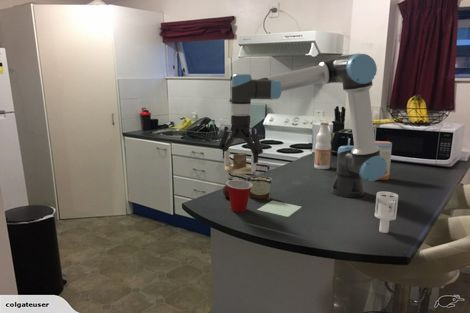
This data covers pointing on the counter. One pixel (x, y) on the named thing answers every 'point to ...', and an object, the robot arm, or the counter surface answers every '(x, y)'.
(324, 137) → the fruit juice
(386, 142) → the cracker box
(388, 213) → the white stepped cylinder
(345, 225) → the counter surface
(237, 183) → the plastic cup
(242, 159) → the lid
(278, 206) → the mat
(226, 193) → the potato
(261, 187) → the food container
